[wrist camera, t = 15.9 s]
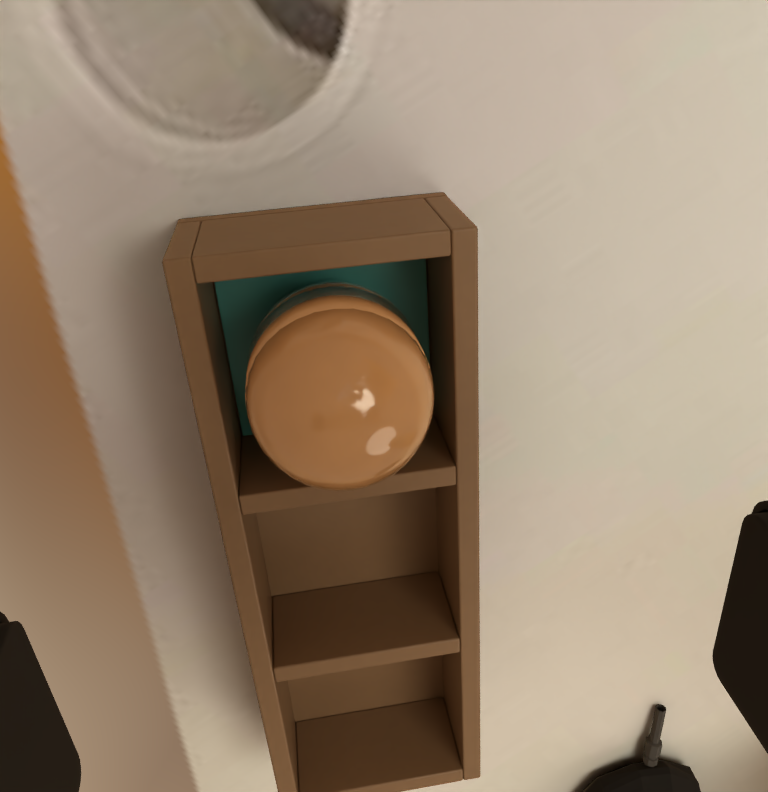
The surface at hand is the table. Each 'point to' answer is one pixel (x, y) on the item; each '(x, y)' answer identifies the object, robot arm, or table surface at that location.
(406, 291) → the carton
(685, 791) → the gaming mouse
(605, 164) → the table surface
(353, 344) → the egg
